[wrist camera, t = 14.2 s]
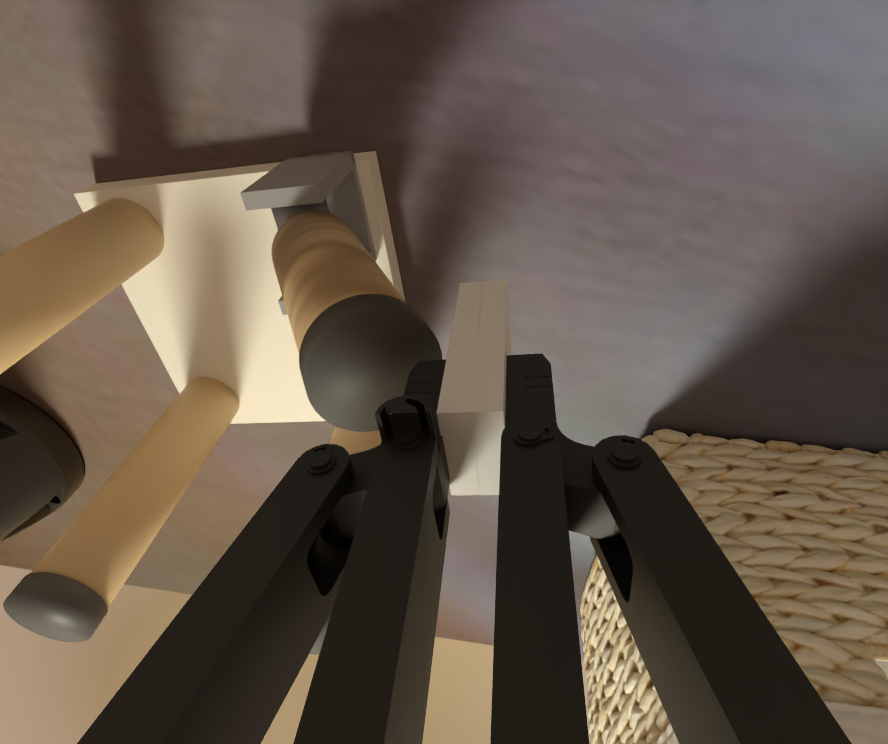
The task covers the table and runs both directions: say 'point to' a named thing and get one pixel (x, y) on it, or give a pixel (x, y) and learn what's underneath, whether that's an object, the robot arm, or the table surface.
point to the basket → (768, 577)
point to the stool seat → (177, 342)
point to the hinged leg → (344, 318)
